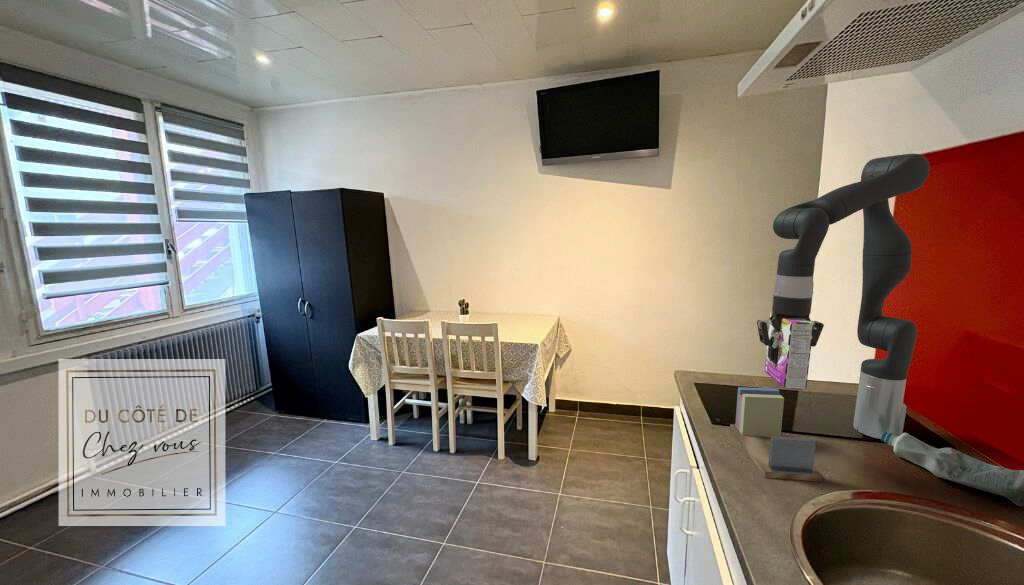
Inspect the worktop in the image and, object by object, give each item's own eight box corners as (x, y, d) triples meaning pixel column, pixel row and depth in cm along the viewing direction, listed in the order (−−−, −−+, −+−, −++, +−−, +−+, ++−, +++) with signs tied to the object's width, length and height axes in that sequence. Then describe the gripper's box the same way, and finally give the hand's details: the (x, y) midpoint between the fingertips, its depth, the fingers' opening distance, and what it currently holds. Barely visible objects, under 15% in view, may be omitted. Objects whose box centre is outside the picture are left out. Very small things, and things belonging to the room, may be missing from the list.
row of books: (773, 428, 110) (776, 388, 108) (782, 437, 105) (786, 396, 103) (735, 426, 112) (738, 387, 110) (742, 435, 107) (745, 394, 105)
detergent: (1047, 499, 82) (895, 439, 104) (1055, 470, 80) (898, 415, 103) (1023, 524, 77) (868, 456, 99) (1030, 494, 75) (871, 431, 98)
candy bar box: (762, 371, 101) (768, 310, 99) (783, 372, 100) (790, 311, 98) (783, 389, 91) (790, 321, 88) (807, 390, 90) (815, 322, 87)
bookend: (809, 469, 92) (813, 438, 90) (815, 475, 90) (818, 443, 88) (768, 466, 93) (770, 436, 92) (772, 472, 91) (775, 441, 90)
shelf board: (774, 431, 111) (775, 426, 111) (821, 481, 90) (822, 475, 89) (729, 428, 113) (730, 424, 113) (765, 477, 92) (765, 471, 92)
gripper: (816, 291, 94) (808, 357, 97) (753, 291, 97) (747, 355, 100) (836, 297, 87) (827, 368, 90) (767, 296, 89) (760, 366, 92)
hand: (785, 361), depth 95 cm, fingers closed on candy bar box, 5 cm apart
